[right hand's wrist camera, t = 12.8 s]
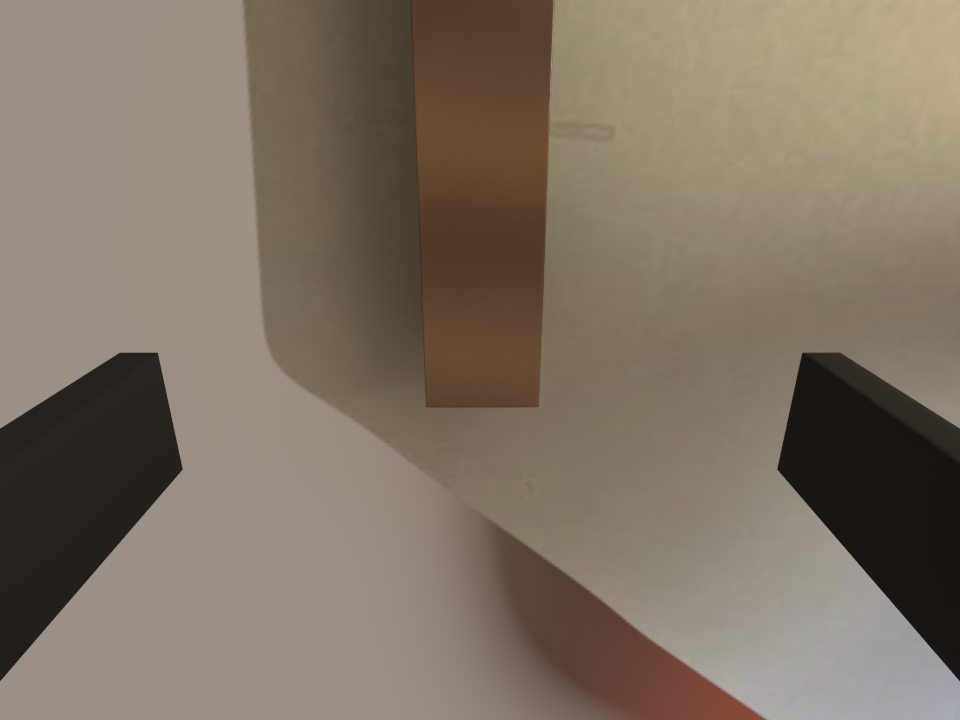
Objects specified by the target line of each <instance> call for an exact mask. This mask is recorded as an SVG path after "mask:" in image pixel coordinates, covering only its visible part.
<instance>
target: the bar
mask: <svg viewBox="0 0 960 720" xmlns="http://www.w3.org/2000/svg"><path fill="white" fill-rule="evenodd" d="M554 2H555V0H411V23H412V49H413V75H414V101H415V127H416V154H417V180H418V206H419V232H420V258H421V285H422V311H423V337H424V363H425V389H426V407H539V387H540V361H541V336H542V310H543V284H544V259H545V233H546V208H547V182H548V156H549V131H550V105H551V79H552V54H553V28H554Z"/></svg>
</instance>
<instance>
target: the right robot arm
mask: <svg viewBox="0 0 960 720" xmlns="http://www.w3.org/2000/svg"><path fill="white" fill-rule="evenodd" d="M777 470H778V471H779V472H780V473H781V474H782V475H783V477H784V478H785V479H786V480H787V481H788V482H789V484H790V485H791V486H792V487H793V488H794V489H795V490H796V492H797V493H798V494H799V495H800V496H801V497H802V499H803V500H804V501H805V502H806V503H807V504H808V506H809V507H810V508H811V509H812V510H813V511H814V513H815V514H816V515H817V516H818V517H819V518H820V519H821V521H822V522H823V523H824V524H825V525H826V526H827V528H828V529H829V530H830V531H831V532H832V533H833V535H834V536H835V537H836V538H837V539H838V540H839V542H840V543H841V544H842V545H843V546H844V547H845V548H846V550H847V551H848V552H849V553H850V554H851V555H852V557H853V558H854V559H855V560H856V561H857V562H858V564H859V565H860V566H861V567H862V568H863V569H864V571H865V572H866V573H867V574H868V575H869V576H870V577H871V579H872V580H873V581H874V582H875V583H876V584H877V586H878V587H879V588H880V589H881V590H882V591H883V593H884V594H885V595H886V596H887V597H888V598H889V600H890V601H891V602H892V603H893V604H894V605H895V606H896V608H897V609H898V610H899V611H900V612H901V613H902V615H903V616H904V617H905V618H906V619H907V620H908V622H909V623H910V624H911V625H912V626H913V627H914V629H915V630H916V631H917V632H918V633H919V634H920V635H921V637H922V638H923V639H924V640H925V641H926V642H927V644H928V645H929V646H930V647H931V648H932V649H933V651H934V652H935V653H936V654H937V655H938V656H939V658H940V659H941V660H942V661H943V662H944V663H945V664H946V666H947V667H948V668H949V669H950V670H951V671H952V673H953V674H954V675H955V676H956V677H957V678H958V680H959V681H960V429H959V428H958V427H956V426H955V425H953V424H952V423H950V422H948V421H947V420H945V419H944V418H942V417H940V416H939V415H937V414H936V413H934V412H933V411H931V410H929V409H928V408H926V407H925V406H923V405H922V404H920V403H918V402H917V401H915V400H914V399H912V398H911V397H909V396H907V395H906V394H904V393H903V392H901V391H899V390H898V389H896V388H895V387H893V386H892V385H890V384H888V383H887V382H885V381H884V380H882V379H881V378H879V377H877V376H876V375H874V374H873V373H871V372H870V371H868V370H866V369H865V368H863V367H862V366H860V365H858V364H857V363H855V362H854V361H852V360H851V359H849V358H847V357H846V356H844V355H843V354H841V353H802V357H801V361H800V366H799V371H798V375H797V380H796V385H795V389H794V394H793V399H792V403H791V408H790V413H789V417H788V422H787V427H786V431H785V436H784V441H783V445H782V450H781V455H780V459H779V464H778V469H777ZM181 471H182V464H181V459H180V455H179V450H178V445H177V441H176V436H175V431H174V427H173V422H172V417H171V413H170V408H169V403H168V399H167V394H166V389H165V385H164V380H163V375H162V371H161V366H160V361H159V357H158V353H119V354H117V355H116V356H114V357H113V358H111V359H110V360H108V361H106V362H105V363H103V364H102V365H100V366H98V367H97V368H95V369H94V370H92V371H91V372H89V373H87V374H86V375H84V376H83V377H81V378H79V379H78V380H76V381H75V382H73V383H72V384H70V385H68V386H67V387H65V388H64V389H62V390H61V391H59V392H57V393H56V394H54V395H53V396H51V397H49V398H48V399H46V400H45V401H43V402H42V403H40V404H39V405H37V406H35V407H34V408H32V409H31V410H29V411H27V412H26V413H24V414H23V415H21V416H20V417H18V418H16V419H15V420H13V421H12V422H10V423H8V424H7V425H5V426H4V427H2V428H1V429H0V681H1V680H2V678H3V677H4V676H5V675H6V674H7V673H8V671H9V670H10V669H11V668H12V667H13V666H14V664H15V663H16V662H17V661H18V660H19V659H20V657H21V656H22V655H23V654H24V653H25V652H26V651H27V649H28V648H29V647H30V646H31V645H32V644H33V642H34V641H35V640H36V639H37V638H38V637H39V635H40V634H41V633H42V632H43V631H44V630H45V629H46V627H47V626H48V625H49V624H50V623H51V621H52V620H53V619H54V618H55V617H56V616H57V615H58V613H59V612H60V611H61V610H62V609H63V608H64V606H65V605H66V604H67V603H68V602H69V601H70V600H71V598H72V597H73V596H74V595H75V594H76V593H77V591H78V590H79V589H80V588H81V587H82V586H83V584H84V583H85V582H86V581H87V580H88V579H89V577H90V576H91V575H92V574H93V573H94V572H95V571H96V569H97V568H98V567H99V566H100V565H101V564H102V562H103V561H104V560H105V559H106V558H107V557H108V555H109V554H110V553H111V552H112V551H113V550H114V548H115V547H116V546H117V545H118V544H119V543H120V541H121V540H122V539H123V538H124V537H125V536H126V534H127V533H128V532H129V531H130V530H131V529H132V528H133V526H134V525H135V524H136V523H137V522H138V521H139V519H140V518H141V517H142V516H143V515H144V514H145V513H146V511H147V510H148V509H149V508H150V507H151V506H152V504H153V503H154V502H155V501H156V500H157V499H158V497H159V496H160V495H161V494H162V493H163V492H164V490H165V489H166V488H167V487H168V486H169V485H170V484H171V482H172V481H173V480H174V479H175V478H176V477H177V475H178V474H179V473H180V472H181Z"/></svg>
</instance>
